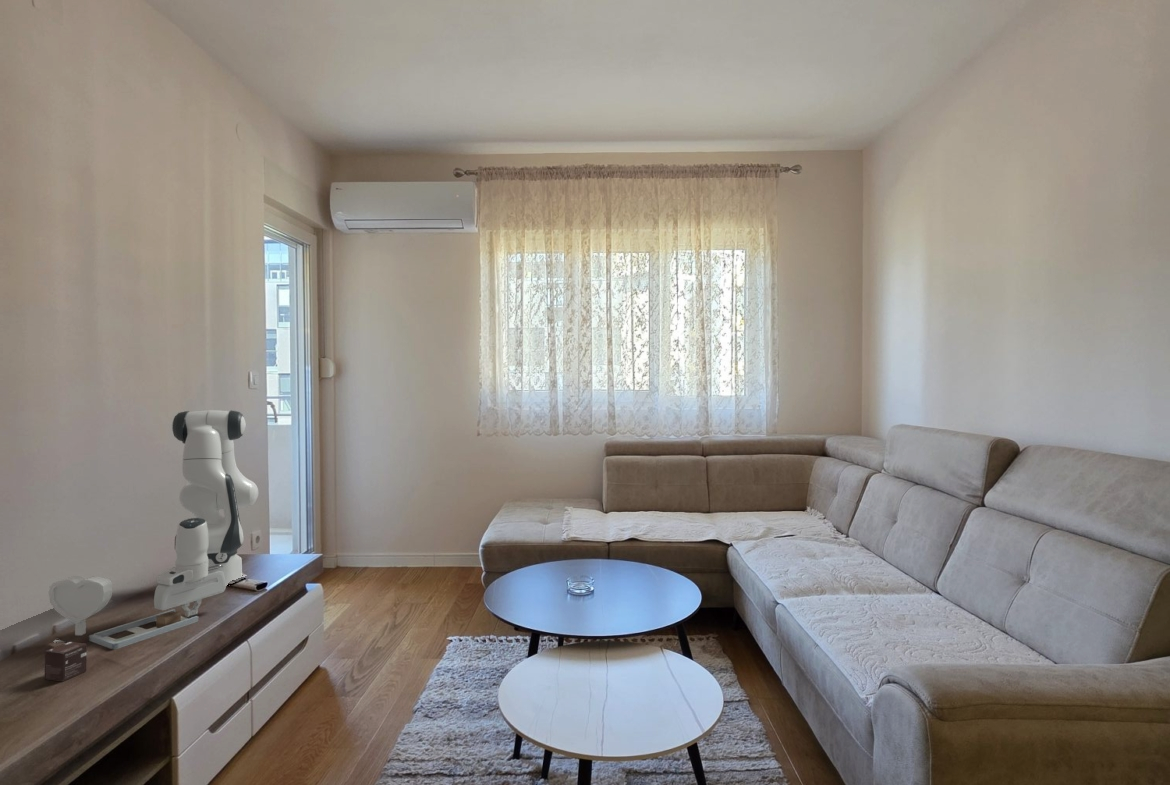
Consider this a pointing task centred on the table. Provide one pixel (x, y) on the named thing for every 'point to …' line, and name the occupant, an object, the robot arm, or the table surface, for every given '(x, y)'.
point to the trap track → (136, 631)
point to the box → (65, 661)
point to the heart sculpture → (80, 599)
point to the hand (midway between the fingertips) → (191, 615)
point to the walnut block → (167, 619)
